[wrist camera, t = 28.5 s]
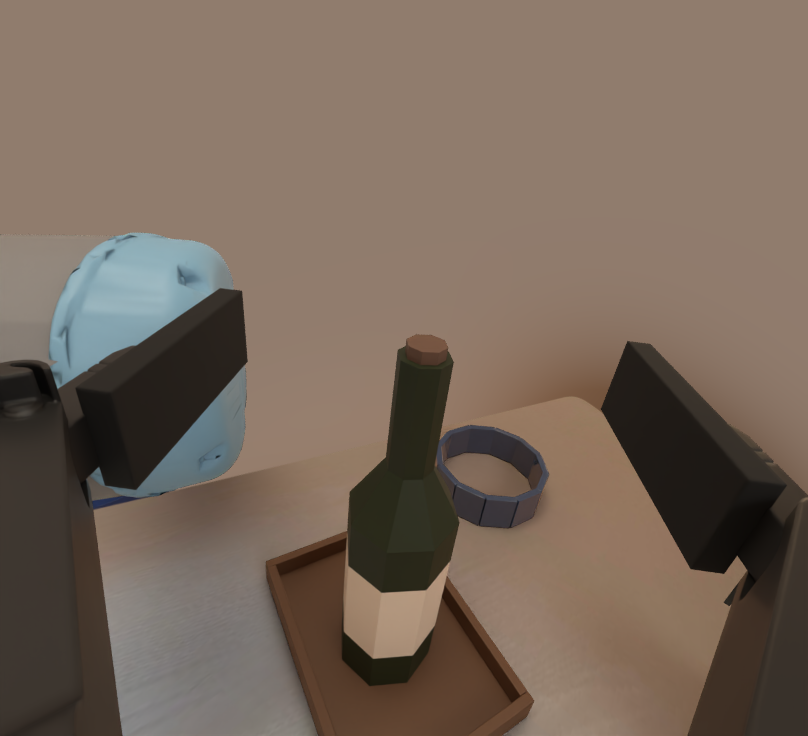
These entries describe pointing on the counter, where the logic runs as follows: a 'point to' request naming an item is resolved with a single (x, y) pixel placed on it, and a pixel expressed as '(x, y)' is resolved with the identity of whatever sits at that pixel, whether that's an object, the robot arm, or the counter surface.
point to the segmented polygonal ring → (508, 449)
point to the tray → (393, 703)
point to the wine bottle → (401, 528)
